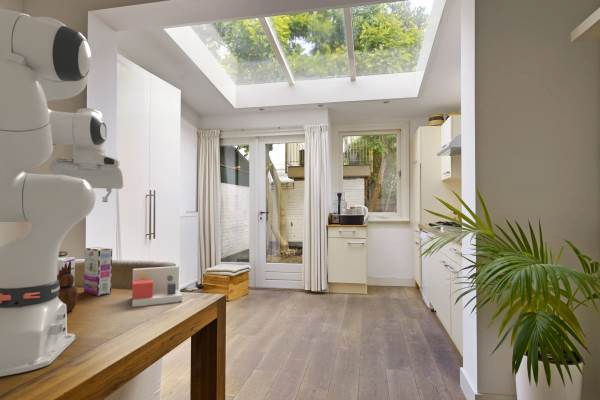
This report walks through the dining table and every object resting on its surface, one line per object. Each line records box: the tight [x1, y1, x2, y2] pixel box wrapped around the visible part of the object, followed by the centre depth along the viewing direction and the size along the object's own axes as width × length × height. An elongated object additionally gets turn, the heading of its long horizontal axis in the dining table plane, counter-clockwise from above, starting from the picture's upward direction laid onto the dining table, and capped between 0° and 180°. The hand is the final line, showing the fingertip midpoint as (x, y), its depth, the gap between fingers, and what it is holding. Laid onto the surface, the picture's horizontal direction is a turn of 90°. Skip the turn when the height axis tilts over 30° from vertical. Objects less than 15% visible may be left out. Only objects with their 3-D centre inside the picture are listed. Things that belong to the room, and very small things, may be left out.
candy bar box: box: [83, 246, 113, 297], centre depth 125 cm, size 11×5×16 cm, turn 55°
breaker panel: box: [131, 265, 183, 308], centre depth 117 cm, size 12×15×10 cm
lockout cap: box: [131, 279, 153, 300], centre depth 113 cm, size 6×6×5 cm
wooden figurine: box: [57, 261, 79, 313], centre depth 103 cm, size 7×6×15 cm
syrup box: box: [57, 256, 76, 286], centre depth 114 cm, size 6×6×14 cm
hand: (88, 202), depth 112 cm, fingers open, 8 cm apart
